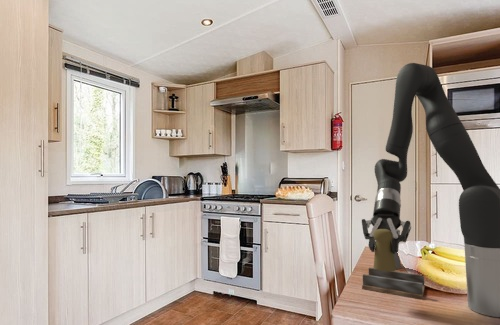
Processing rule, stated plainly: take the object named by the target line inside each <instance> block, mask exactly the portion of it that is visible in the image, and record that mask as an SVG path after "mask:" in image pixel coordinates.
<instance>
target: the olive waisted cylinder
mask: <svg viewBox="0 0 500 325" xmlns="http://www.w3.org/2000/svg"><path fill="white" fill-rule="evenodd" d="M373 236H374V239H375V242H376V243H375V251H374V258H373V268H374V269H376V270H380V271H397V270H398V269H396V264H395V259H394V254H393V253H392V243H391V241H392V239H393V234H392V232H391V231H390V230H387V229H377V230H375V231H374V233H373Z"/></svg>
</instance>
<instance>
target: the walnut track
mask: <svg viewBox="0 0 500 325" xmlns="http://www.w3.org/2000/svg"><path fill="white" fill-rule="evenodd" d="M421 275H422V274H420V275H419V273H410V272H403V271H397V270H396V271H380V270H376V269H374V267H369V268H368V274H364V273H363V274H362V286H361V290H368V291H373V292H379V293H384V294H388V295H389V294H391V295H395V296H400V297H401V296H402V297H407V298H413V299H417V300H418V299H419V300H423V297H424V293H425V289H426V285H424V283H425V276H424V277H423V276H421Z"/></svg>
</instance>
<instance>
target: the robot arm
mask: <svg viewBox="0 0 500 325" xmlns="http://www.w3.org/2000/svg"><path fill="white" fill-rule="evenodd" d="M394 89H395V92H394V100H393V112H392V119H391V120H392V121H391V126H390V130H389V133H388V137H387V141H386V145H385V152H386V153H387V154H390V155H392V156H394V157H397V159H398V161H396V160H391V159H385V158H381V159H379V160H377V161H376V163H375V164H374V175H375V178H376V182H377V190H376V195H375V198H374V206H373V212H372V217H371V218H370V219H368V220H366V219H365V218H362V219H361V226H362V231H363V236H364V239H365V240H368V248H369V251H371V253H375V243H376V240H375V239H374V236H373V233H374V231H375V230H377V229H387V230H390V231H391V232H392V234H393V239H392V253H393V254H396V252H398V253H399V246H400V245H399V244H400V243H407V240H408V238H409V235H410V233H411V229H412V225H411V221H410V220H405V221H402V220H401V208H402V207H401V206H402V204H401V203H402V200H401V191H402V190H401V189H402V187H401V183H402V182H403V181H405V180H406V178H407V177H408V152H409V148H410V144H411V141H412V138H413V132H414V131H413V130H414V127H413V126H414V124H413V114H412V109H413V103H414V100H415V98H416V97H417V99H418V100H419V101H420V104H421V106H422V107H423V109H424V113H425V126H426V127H425V129H426V133H427V135H428V137H429V140H430V142H431V144H432V145H433V147H434V149H435V151H436V152H437V154H438V155H439V157H440V158H441V159H442V161H443V162H444V163H445V164H446V165H447V166H448V167H449V168H450V169H451V171H453V173H454V174H455V176H456V178H457V180H458V182H459V184H460V185H461V188H462V190H463V191H461V194H460V195H459V199H458V213H459V216H458V217H459V224H460V231H461V234H462V236H463V242H464V243H463V246H464V261H465V273H466V274H465V277H466V294H467V307H468V308H469V309H470V310H471V311H473V312H476V313H478V314H482V315H484V316H488V317H494V318H500V186H498V184H497V183H496V182H495V180H494V178H492V175H490V173H489V171H488V170H487V169H486V167H485V166H484V162H482V159H481V157H480V155H479V153H478V151H477V149H476V147H475V144H474V143H473V140H472V138H471V136H470V135H469V132H468V131H467V129H466V127H465V126H464V123H463V121H462V120H461V119H460V118H459V116H458V114H457V112H456V110H455V108H454V107H453V105H452V104H451V102H450V101H449V98H448V96H447V94H446V93H445V90H444V88H443V85H442V83H441V80H440V78H439V75H438V73H437V72H436V70H435V69H434V68H433V67H432V66H430V65H426V64H421V63H417V62H410V63H407V64H405V65H403V66H402V67H401V68H400V70H399V71H398V73H397V76H396V81H395V88H394ZM371 225H372V226H373V227H372V229H371V232H370V233H369V228H370V227H371ZM400 227H401V228H402V230H401V231H400V235H397V232H396V230H397V229H398V230H399V228H400Z"/></svg>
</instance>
